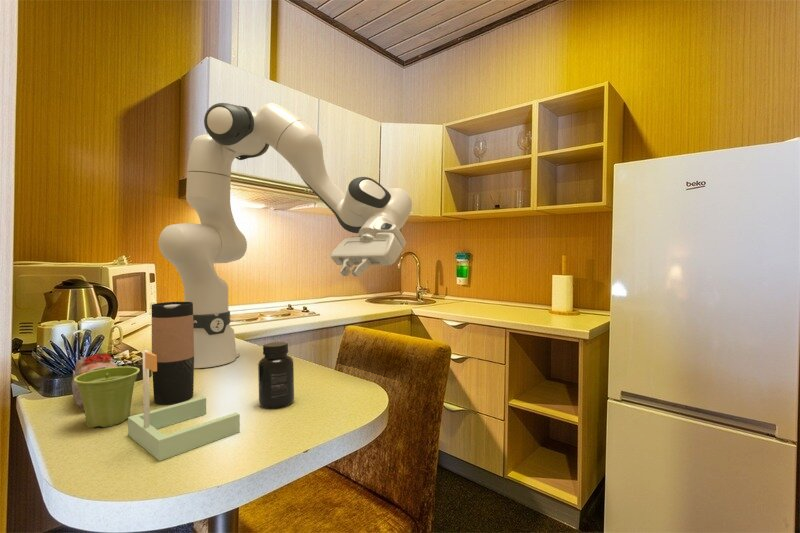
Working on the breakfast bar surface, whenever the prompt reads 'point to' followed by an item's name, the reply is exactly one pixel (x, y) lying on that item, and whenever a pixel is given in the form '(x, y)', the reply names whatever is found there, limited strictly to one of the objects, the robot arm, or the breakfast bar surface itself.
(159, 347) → the travel mug
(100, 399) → the plant pot
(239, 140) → the robot arm
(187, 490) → the breakfast bar surface
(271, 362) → the supplement bottle
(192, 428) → the u-shaped flag stand
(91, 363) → the food item
